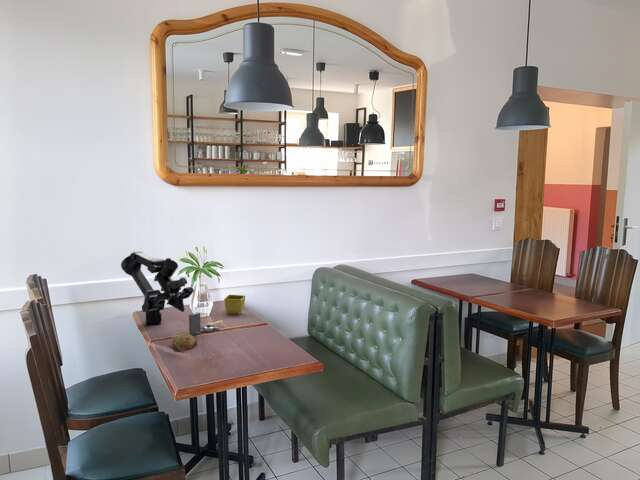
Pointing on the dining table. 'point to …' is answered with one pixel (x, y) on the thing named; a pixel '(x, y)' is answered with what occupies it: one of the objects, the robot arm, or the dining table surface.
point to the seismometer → (197, 328)
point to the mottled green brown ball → (183, 342)
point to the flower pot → (234, 303)
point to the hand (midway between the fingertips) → (183, 311)
